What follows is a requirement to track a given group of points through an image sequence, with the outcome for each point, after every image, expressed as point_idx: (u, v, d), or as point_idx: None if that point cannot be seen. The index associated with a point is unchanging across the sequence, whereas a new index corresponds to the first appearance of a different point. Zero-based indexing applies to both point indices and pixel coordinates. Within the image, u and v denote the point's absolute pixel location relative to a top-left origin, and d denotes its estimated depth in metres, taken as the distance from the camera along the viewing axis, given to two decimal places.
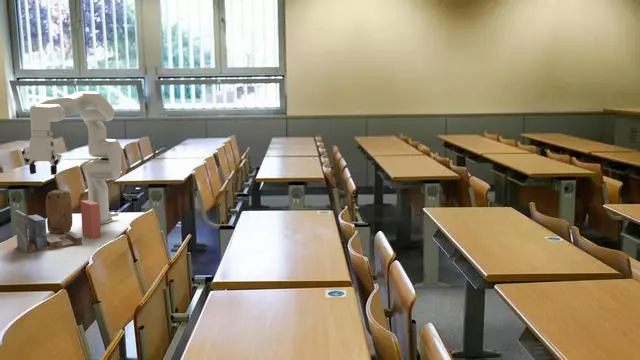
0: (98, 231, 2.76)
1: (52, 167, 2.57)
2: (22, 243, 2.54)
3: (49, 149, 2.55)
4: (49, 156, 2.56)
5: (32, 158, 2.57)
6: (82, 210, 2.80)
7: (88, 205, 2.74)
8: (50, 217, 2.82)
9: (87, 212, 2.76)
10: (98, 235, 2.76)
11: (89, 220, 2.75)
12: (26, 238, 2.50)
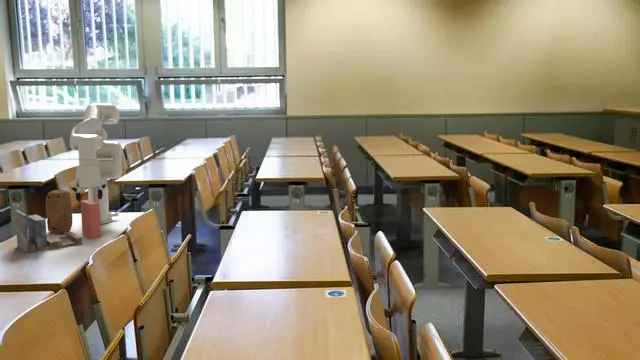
0: (98, 231, 2.76)
1: None
2: (22, 243, 2.54)
3: (99, 175, 2.77)
4: (100, 182, 2.77)
5: (83, 186, 2.72)
6: (82, 210, 2.80)
7: (88, 205, 2.74)
8: (50, 217, 2.82)
9: (87, 212, 2.76)
10: (98, 235, 2.76)
11: (89, 220, 2.75)
12: (26, 238, 2.50)
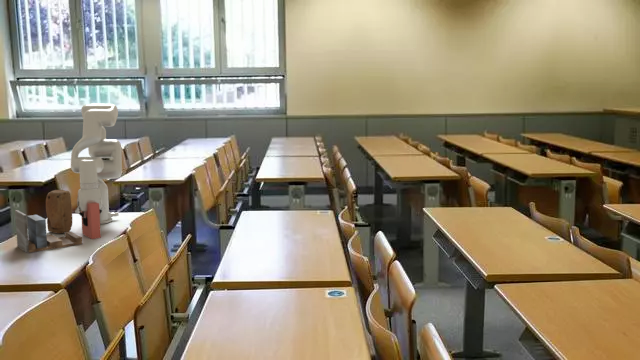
0: (98, 231, 2.76)
1: None
2: (22, 243, 2.54)
3: (101, 198, 2.79)
4: (101, 205, 2.79)
5: (84, 209, 2.74)
6: None
7: (88, 205, 2.74)
8: (50, 217, 2.82)
9: (87, 212, 2.76)
10: (98, 235, 2.76)
11: (89, 220, 2.74)
12: (26, 238, 2.50)
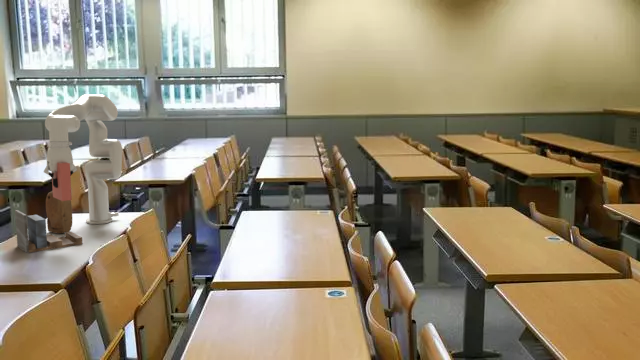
0: (69, 193, 2.60)
1: None
2: (22, 243, 2.54)
3: (72, 158, 2.63)
4: (72, 165, 2.64)
5: (54, 169, 2.58)
6: None
7: (58, 165, 2.58)
8: (50, 217, 2.82)
9: (57, 172, 2.60)
10: (69, 197, 2.60)
11: (59, 181, 2.59)
12: (26, 238, 2.50)
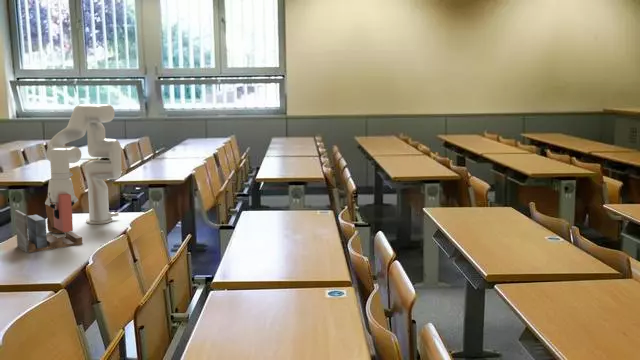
0: (70, 224, 2.62)
1: None
2: (22, 243, 2.54)
3: (73, 189, 2.65)
4: (73, 196, 2.65)
5: (55, 201, 2.60)
6: None
7: (59, 196, 2.60)
8: (50, 217, 2.82)
9: (58, 204, 2.62)
10: (70, 228, 2.62)
11: (60, 212, 2.61)
12: (26, 238, 2.50)
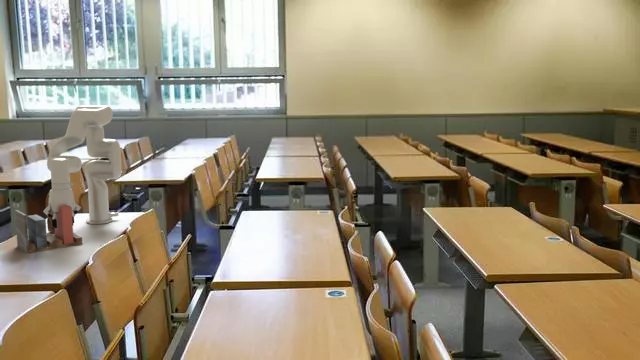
0: (71, 236, 2.63)
1: (72, 218, 2.67)
2: (22, 243, 2.54)
3: None
4: (74, 206, 2.66)
5: (56, 211, 2.61)
6: None
7: (60, 208, 2.61)
8: None
9: (59, 216, 2.63)
10: (71, 240, 2.63)
11: (61, 224, 2.62)
12: (26, 238, 2.50)
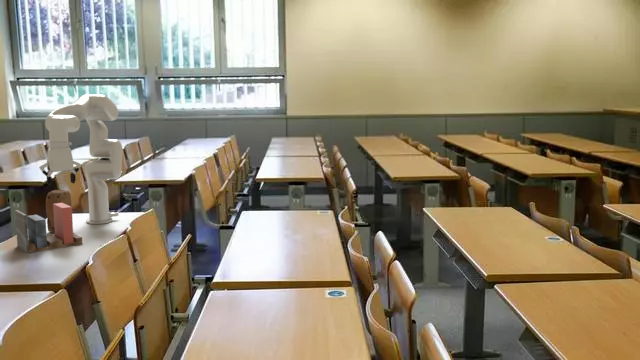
0: (71, 236, 2.63)
1: (74, 176, 2.66)
2: (22, 243, 2.54)
3: (72, 158, 2.64)
4: (72, 165, 2.65)
5: (54, 169, 2.60)
6: (54, 214, 2.67)
7: (60, 208, 2.61)
8: (50, 217, 2.82)
9: (59, 216, 2.63)
10: (71, 240, 2.63)
11: (61, 224, 2.62)
12: (26, 238, 2.50)
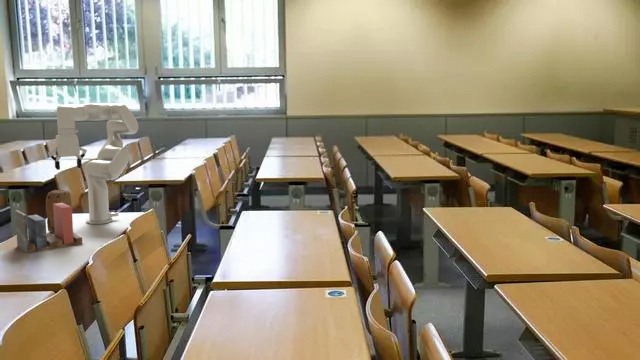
0: (71, 236, 2.63)
1: None
2: (22, 243, 2.54)
3: (78, 145, 2.83)
4: (79, 151, 2.83)
5: (62, 154, 2.78)
6: (54, 214, 2.67)
7: (60, 208, 2.61)
8: (50, 217, 2.82)
9: (59, 216, 2.63)
10: (71, 240, 2.63)
11: (61, 224, 2.62)
12: (26, 238, 2.50)
